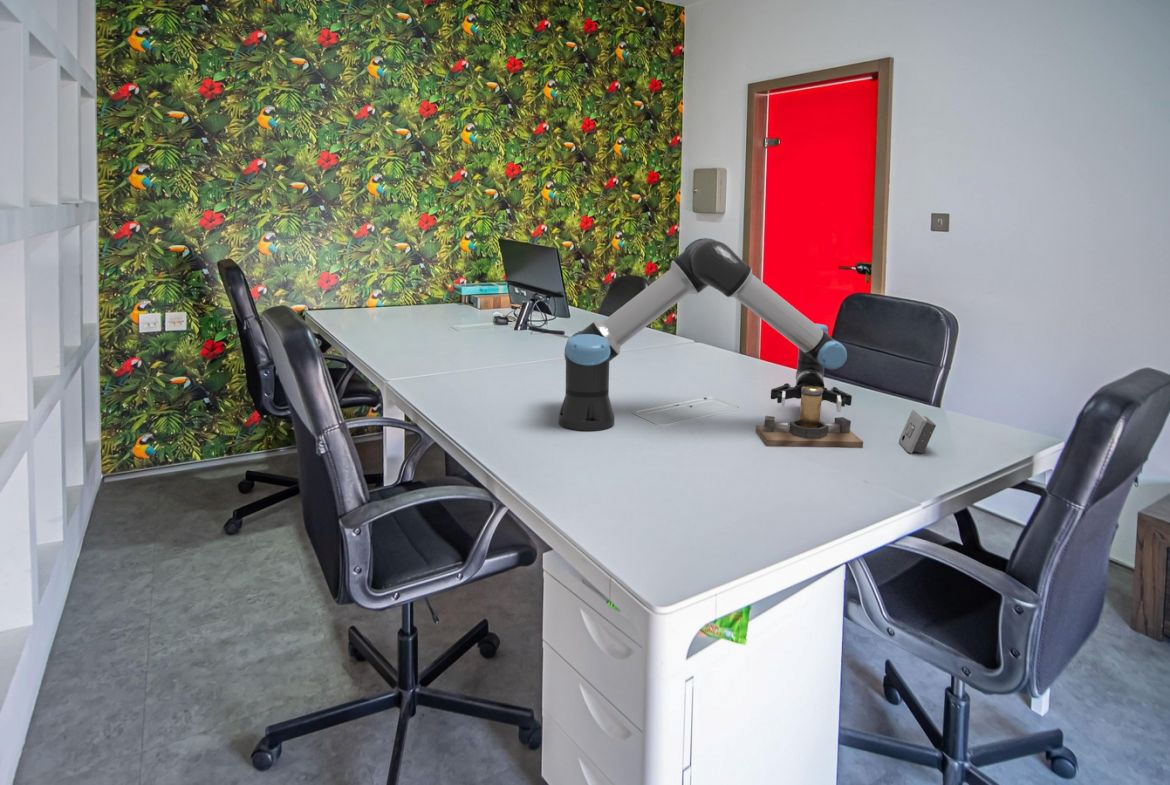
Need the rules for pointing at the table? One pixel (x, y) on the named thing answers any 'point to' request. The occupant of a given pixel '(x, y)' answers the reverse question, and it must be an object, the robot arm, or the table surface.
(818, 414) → the brass cylinder
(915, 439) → the electrical switch
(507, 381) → the table surface
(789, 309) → the robot arm
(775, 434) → the base
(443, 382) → the table surface
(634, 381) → the table surface
